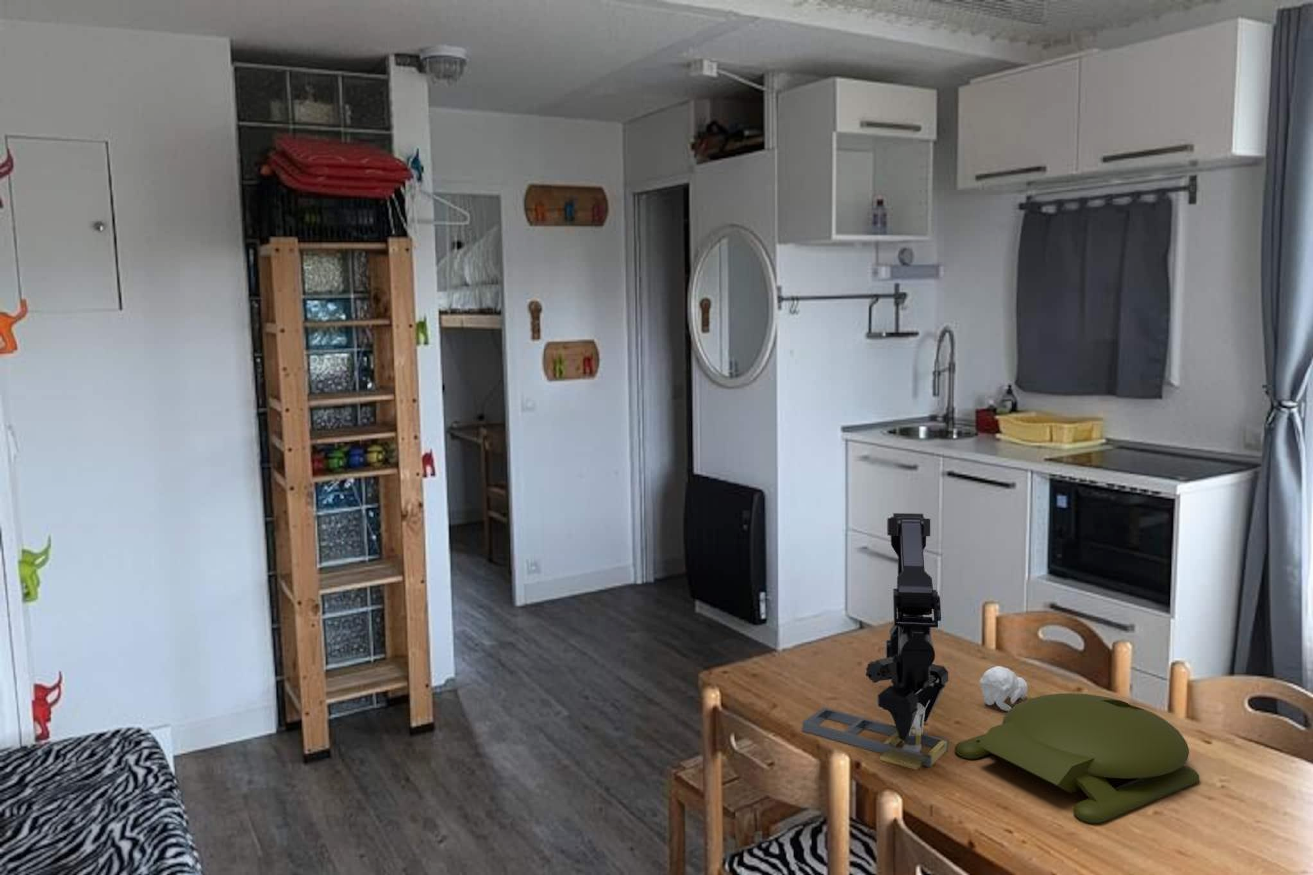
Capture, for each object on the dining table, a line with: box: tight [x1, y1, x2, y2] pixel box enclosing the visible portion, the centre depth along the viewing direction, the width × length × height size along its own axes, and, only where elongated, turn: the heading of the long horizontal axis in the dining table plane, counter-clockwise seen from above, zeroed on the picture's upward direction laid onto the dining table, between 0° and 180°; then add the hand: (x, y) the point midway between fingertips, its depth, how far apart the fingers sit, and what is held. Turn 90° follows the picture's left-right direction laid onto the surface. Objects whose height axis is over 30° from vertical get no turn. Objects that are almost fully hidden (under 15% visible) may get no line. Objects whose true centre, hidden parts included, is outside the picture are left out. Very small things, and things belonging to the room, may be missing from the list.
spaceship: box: [954, 692, 1200, 824], centre depth 173 cm, size 35×31×10 cm
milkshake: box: [901, 700, 930, 753], centre depth 179 cm, size 4×5×10 cm
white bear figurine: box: [979, 665, 1028, 713], centre depth 199 cm, size 6×8×12 cm
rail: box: [802, 706, 949, 771], centre depth 184 cm, size 13×26×2 cm, turn 52°
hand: (913, 730), depth 179 cm, fingers open, 9 cm apart
